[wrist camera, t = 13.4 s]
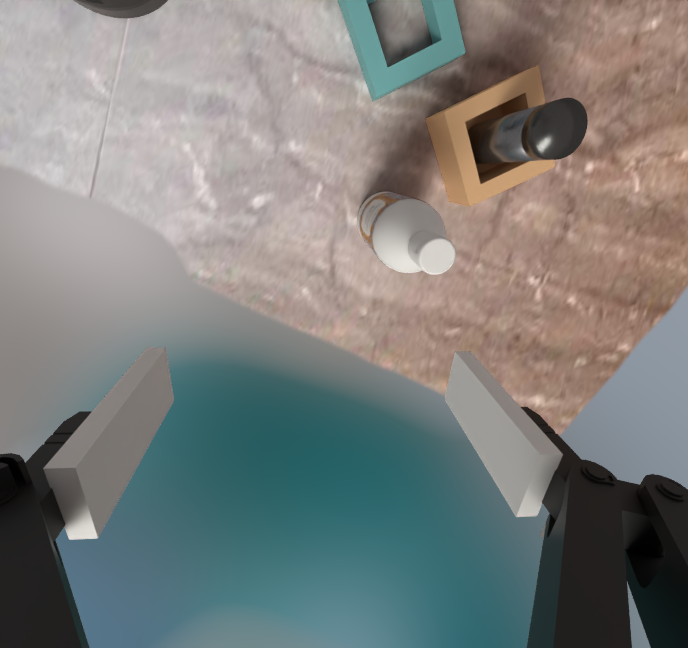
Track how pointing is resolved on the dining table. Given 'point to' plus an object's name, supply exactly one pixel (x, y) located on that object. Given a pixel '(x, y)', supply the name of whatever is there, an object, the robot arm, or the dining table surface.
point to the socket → (455, 149)
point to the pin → (530, 133)
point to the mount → (413, 67)
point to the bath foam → (405, 233)
